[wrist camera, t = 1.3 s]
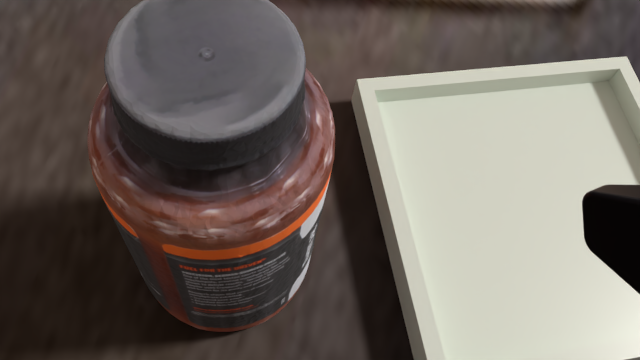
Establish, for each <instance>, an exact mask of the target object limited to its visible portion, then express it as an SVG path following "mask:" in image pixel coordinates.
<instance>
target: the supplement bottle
mask: <svg viewBox="0 0 640 360" xmlns="http://www.w3.org/2000/svg"><path fill="white" fill-rule="evenodd" d="M104 70H105V76H106V80H107V83H106V84H105V85H104V86H103V88H102V89H101V92H100V94H99V96H98V98H97V100H96V102H95V105H94V108H93V110H92V112H91V116H90V122H89V129H88V153H89V160H90V164H91V168H92V173H93V176H94V179H95V182H96V184H97V186H98V188H99V191H100V193H101V195H102V197H103V199H104V202H105V204H106V206H107V208H108V210H109V212H110V213H111V215H112V217H113V220H114V222H115V223H116V225H117V227H118V229H119V232H120V234H121V236H122V238H123V240H124V242H125V244H126V246H127V248H128V250H129V251H130V254H131V255H132V257H133V259H134V261H135V264H136V265H137V267H138V269H139V271H140V273H141V275H142V277H143V279H144V281H145V283H146V285H147V287H148V289H149V290H150V291H151V293H152V294H153V296H154V297H155V299H157V301H158V302H159V303H160V304H161V305H162V306H163V307H164V308H165V309H166V310H167V311H168V312H169V313H170V314H171V315H173V316H174V317H176V318H177V319H179V320H180V321H182V322H184V323H186V324H188V325H190V326H193V327H195V328H198V329H202V330H206V331H215V332H230V331H238V330H243V329H247V328H250V327H253V326H256V325H259V324H261V323H263V322H265V321H267V320H268V319H270V318H272V317H273V316H274V315H276V314H277V313H278V312H280V311H281V310H282V309H283V308H284V307H285V306H286V305H287V304H288V303H289V301H290V300H291V299H292V298H293V297H294V295H295V294H296V292H297V291H298V289H299V287H300V285H301V283H302V281H303V279H304V277H305V274H306V272H307V268H308V265H309V261H310V257H311V253H312V250H313V247H314V240H315V236H316V232H317V228H318V224H319V220H320V215H321V212H322V210H323V205H324V199H325V195H326V191H327V187H328V183H329V180H330V175H331V170H332V166H333V161H334V152H335V125H334V119H333V115H332V114H333V113H332V110H331V109H330V105H329V102H328V99H327V96H326V95H325V93H324V91H323V90H322V88H321V86H320V84H319V83H318V82H317V81H316V79H315V78H314V76H313V75H312V74H311V72H309V71H308V70H307V69H306V58H305V52H304V47H303V43H302V41H301V38H300V35H299V33H298V31H297V30H296V28H295V26H294V24H293V23H292V22H291V21H290V19H289V18H288V17H287V16H286V15H285V14H284V13H283V12H282V11H281V10H280V9H279V8H277V7H276V6H275V5H274V4H273V3H271V2H270V1H268V0H143V1H141V2H140V3H138V4H137V5H136V6H135V7H133V8H132V9H130V11H129V12H128V13H127V14H126V15H125V16H124V17H123V18H122V19H121V20H120V22H119V23H118V24H117V26H116V27H115V29H114V31H113V33H112V34H111V36H110V38H109V40H108V45H107V50H106V54H105V58H104Z"/></svg>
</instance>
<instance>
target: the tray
mask: <svg viewBox="0 0 640 360" xmlns="http://www.w3.org/2000/svg"><path fill="white" fill-rule="evenodd" d="M351 102H352V106H353V110H354V114H355V118H356V122H357V126H358V131H359V135H360V139H361V143H362V147H363V151H364V155H365V160H366V164H367V168H368V172H369V176H370V180H371V184H372V189H373V193H374V197H375V201H376V205H377V209H378V213H379V218H380V222H381V226H382V230H383V234H384V238H385V242H386V247H387V251H388V255H389V259H390V263H391V267H392V271H393V275H394V280H395V284H396V288H397V292H398V296H399V300H400V304H401V309H402V313H403V317H404V321H405V325H406V329H407V333H408V338H409V342H410V346H411V350H412V354H413V358H414V360H640V294H639V293H638V292H636V291H635V290H634V289H633V288H632V287H631V286H630V285H629V284H627V283H626V282H625V281H624V280H623V279H622V278H621V277H619V276H618V275H617V274H616V273H615V272H614V271H613V270H611V269H610V268H609V267H608V266H607V265H606V264H605V263H604V262H602V261H601V260H600V259H599V258H598V257H597V256H596V255H594V254H593V253H592V252H591V251H590V249H589V248H588V246H587V245H586V242H585V239H584V230H583V213H582V200H583V197H584V195H585V194H586V193H587V192H589V191H591V190H594V189H596V188H598V187H601V186H603V185H609V184H613V185H640V82H639V80H638V78H637V76H636V74H635V72H634V70H633V68H632V66H631V64H630V62H629V60H628V58H627V56H626V57H615V58H603V59H591V60H579V61H568V62H556V63H544V64H533V65H521V66H509V67H497V68H486V69H474V70H462V71H450V72H439V73H427V74H415V75H403V76H392V77H380V78H368V79H357V81H356V85H355V89H354V92H353V96H352V100H351Z"/></svg>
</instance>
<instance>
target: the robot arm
mask: <svg viewBox="0 0 640 360" xmlns="http://www.w3.org/2000/svg"><path fill="white" fill-rule="evenodd" d="M582 213H583V230H584V239H585V242H586V245H587V246H588V248H589V249H590V251H591V252H592V253H593V254H594V255H596V256H597V257H598V258H599V259H600V260H601V261H602V262H604V263H605V264H606V265H607V266H608V267H609V268H610V269H611V270H613V271H614V272H615V273H616V274H617V275H618V276H619V277H621V278H622V279H623V280H624V281H625V282H626V283H627V284H629V285H630V286H631V287H632V288H633V289H634V290H635V291H636V292H638V293H639V294H640V185H613V184H609V185H603V186H601V187H598V188H596V189H594V190H591V191H589V192H587V193H586V194H585V195H584V197H583V200H582Z"/></svg>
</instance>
